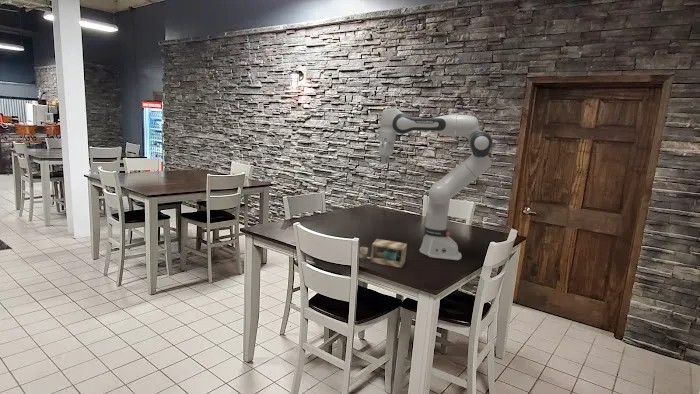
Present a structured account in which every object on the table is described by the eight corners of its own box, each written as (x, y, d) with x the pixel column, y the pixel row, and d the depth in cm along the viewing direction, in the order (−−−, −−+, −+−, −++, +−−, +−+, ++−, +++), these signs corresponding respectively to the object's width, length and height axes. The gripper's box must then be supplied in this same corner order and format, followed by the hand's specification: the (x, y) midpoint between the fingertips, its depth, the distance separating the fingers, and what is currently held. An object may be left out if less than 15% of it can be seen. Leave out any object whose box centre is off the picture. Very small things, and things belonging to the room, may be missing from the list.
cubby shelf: (405, 261, 198) (407, 243, 196) (401, 267, 188) (403, 249, 187) (375, 256, 202) (376, 238, 200) (370, 262, 192) (372, 243, 191)
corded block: (397, 261, 197) (398, 250, 196) (395, 265, 191) (396, 253, 190) (360, 255, 202) (361, 243, 201) (357, 258, 196) (358, 247, 195)
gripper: (389, 138, 202) (386, 165, 204) (396, 138, 221) (393, 163, 223) (377, 137, 203) (374, 164, 206) (385, 137, 223) (383, 162, 225)
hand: (384, 163), depth 215 cm, fingers open, 8 cm apart
